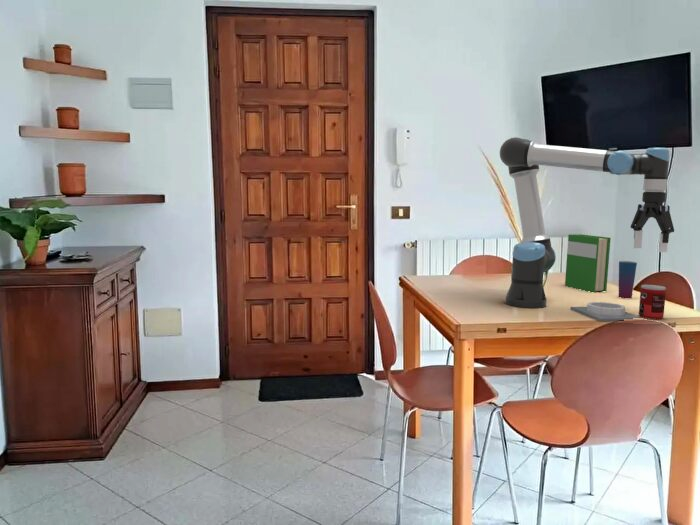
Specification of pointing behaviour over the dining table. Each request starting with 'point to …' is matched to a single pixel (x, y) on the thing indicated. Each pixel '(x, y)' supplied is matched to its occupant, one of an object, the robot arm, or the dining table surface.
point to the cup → (626, 278)
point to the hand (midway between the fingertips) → (649, 250)
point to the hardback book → (587, 262)
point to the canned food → (652, 301)
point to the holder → (604, 311)
